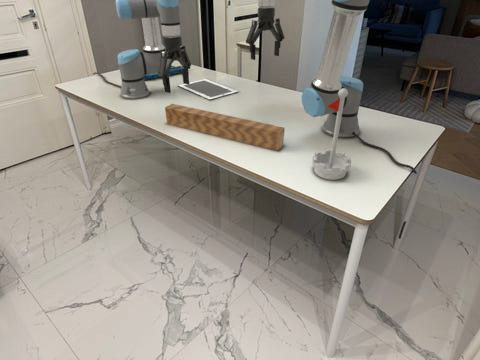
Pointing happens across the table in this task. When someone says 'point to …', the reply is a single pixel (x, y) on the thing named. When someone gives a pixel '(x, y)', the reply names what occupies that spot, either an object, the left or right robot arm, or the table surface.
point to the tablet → (208, 89)
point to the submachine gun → (172, 71)
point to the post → (226, 126)
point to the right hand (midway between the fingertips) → (265, 57)
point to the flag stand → (333, 149)
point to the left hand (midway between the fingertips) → (177, 88)
